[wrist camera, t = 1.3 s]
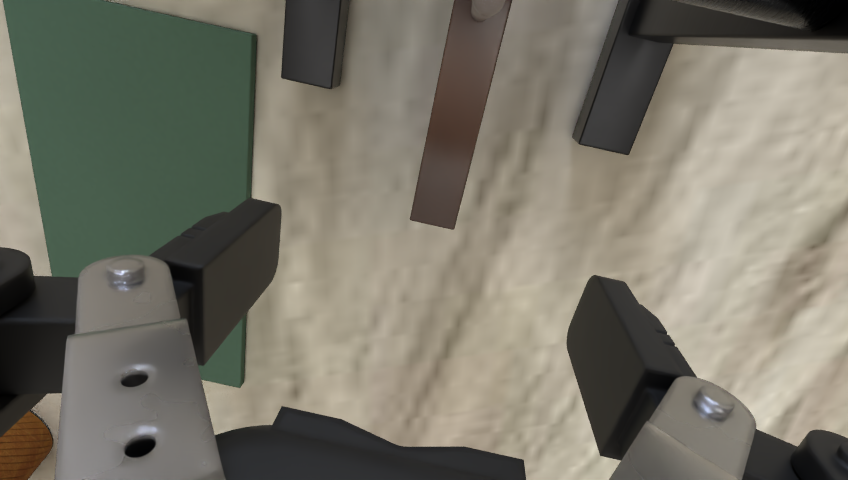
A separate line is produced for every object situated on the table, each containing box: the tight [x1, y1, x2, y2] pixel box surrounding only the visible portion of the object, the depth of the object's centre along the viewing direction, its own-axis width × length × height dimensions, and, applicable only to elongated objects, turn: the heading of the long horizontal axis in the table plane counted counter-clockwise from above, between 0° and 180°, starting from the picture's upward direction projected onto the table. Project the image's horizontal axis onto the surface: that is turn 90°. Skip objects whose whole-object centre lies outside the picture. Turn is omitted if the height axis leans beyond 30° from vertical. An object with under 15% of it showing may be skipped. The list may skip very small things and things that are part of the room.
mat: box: [3, 0, 257, 388], centre depth 26 cm, size 22×12×1 cm, turn 169°
